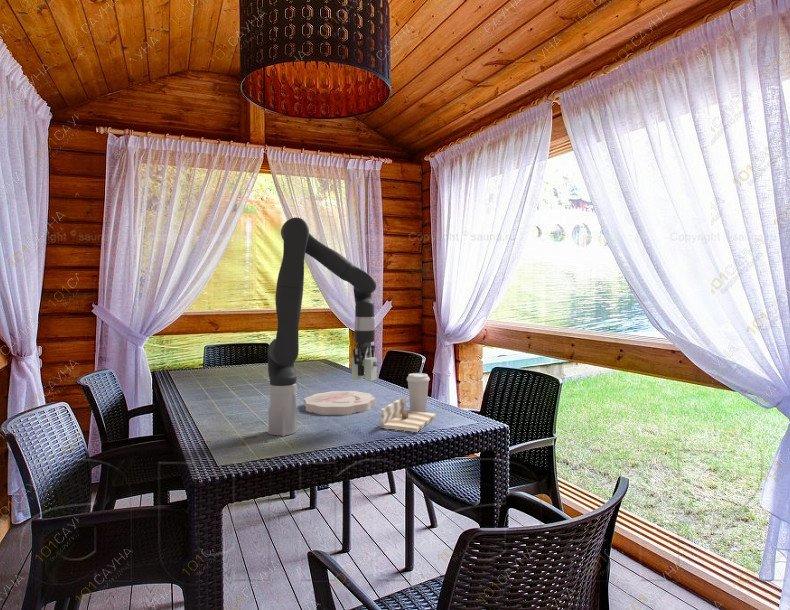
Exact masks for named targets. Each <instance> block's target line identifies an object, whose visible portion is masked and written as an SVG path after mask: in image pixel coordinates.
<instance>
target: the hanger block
mask: <svg viewBox="0 0 790 610" xmlns="http://www.w3.org/2000/svg"><path fill="white" fill-rule="evenodd" d="M362 379H364V382H372V381H375V380H377V379H378V358H377V357H375V356H374V357H366V359H365V360H364V375H363V376H358V365H357V364H355V363H354V357H352V358H351V380H352V381H358V380H362Z"/></svg>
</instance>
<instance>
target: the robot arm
mask: <svg viewBox="0 0 790 610" xmlns="http://www.w3.org/2000/svg"><path fill="white" fill-rule="evenodd" d="M280 236H281V238H282V240H283V249H282V250H283V251H282V259H281V264H280V268H279V271H278V274H277V281H276V288H275V289H276V290H275V302H274V303H275V310H276V318H277V329H276V336H275V338H274V339H273V340H272V341H270V343H269V345H268V348H267V373H268V377H269V407H268V408H267V409H268V435H272V436H273V435H274V436H280V437H284V436H289V435H293V434H296V433H297V432H298V420H297V419H298V418H297V417H298V416H297V415H298V414H297V413H298V412H297V411H298V410H297V409H298V407H297V405H298V402H297V401H298V399H297V398H298V397H297V395H298V393H297V392H298V391H297V390H298V389H297V388H298V387H297V383H298V382H297V381H298V380H297V374H296V371H295V362H296V361H297V358H298V356H299V352H300V351H299V350H300V348H299V336H300V335H299V328H300V319H301V311H302V304H303V303H302V302H303V294H304V286H305V285H304V283H305V281H304V280H305V256H306V254H307V256H309V257H312V259H314V260H315V261H317V262H318V263H320V264H321V265H322V266H323V267H324V268H326V269H327V270H328V271H330V272H331V273H333V274H334V275H335V276H337V277H338V278H339V279H341V280H343V281H344V282H348V283H349V284H350V285H351V286H353V295H354V302H355V306H354V307H355V311H354V323H353V324H354V325H353V326H354V329H353V330H354V331H353V332H354V334H353V335H354V337H353V339H354V342H356V343H357V347H356V348H353V349H352V350H353V351H352V352H353V358H354V363H355V364H357V365H358V376H363V375H364V376H365V373H364V360H365V359H366V357H374V358H375V351H376V346H375V345H373V344H372V343H374V342H375V339H376V338H375V333H376V331H375V330H376V325H375V324H376V323H375V322H376V321H375V305H374V302H373V300H372V293H374V291H375V290H376V289H377V281H376V279H375V277H373V276H372V275H371V274H369V273H368V272H366V271H364V270H363V269H361V268H360V267H357V266H356V265H355V264H354V263H352V262H351V261H350V260H349V259H347V258H346V257H345V256H344V255H342V254H340V253H339V252H337V251H335V250H334V249H333V248H330V247H329V246H326V245H325V244H324V243H322V242H320V241H319V240H318V239H317V238H315V237H314V236H313V235H312V234H311V233H310V227H309V225H308V223H307V222H306V221H305V219H303V218H301V217H297V216H296V217H292V218H291V217H290V218H289V219H287V220H286V221H285V222H284V223H283V225H282V226H281V229H280Z"/></svg>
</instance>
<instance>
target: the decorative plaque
mask: <svg viewBox="0 0 790 610" xmlns="http://www.w3.org/2000/svg"><path fill="white" fill-rule="evenodd" d="M303 401H304V405H303V406H305V407H306V408H305V407H304V408H305V411H306V412H307V411H308V412H307V413H312V412H313V413H314V414H317V415H322V416H331V415H332V416H334V415H335V416H347V415H346V414H349V415H353V414H352V413H354V414H357V413H356V412H360V413H365V412H364V411H366V412H368V411H370V410H371V409H372V408H371V407H373V408H375V407H376V397H374V396H373V395H372V394H371V393H368V392H361V391H357V390H333V391H326V392H319V393H318V392H317V393H314V394H312V395H310V396H307V397H304V399H303ZM374 406H375V407H374ZM367 410H368V411H367Z"/></svg>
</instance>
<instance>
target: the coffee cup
mask: <svg viewBox="0 0 790 610" xmlns="http://www.w3.org/2000/svg"><path fill="white" fill-rule="evenodd" d="M430 380H431V378H430V376H428V374H427V373H423V372H422V373H421V372H413V373H408V376H407V378H406V381H407V385H408V386H407V387H408V396H409V397H408V399H409V400H408V401H409V411H415V412H424V413H426V412H427V404H428V392H429V381H430ZM425 411H426V412H425Z"/></svg>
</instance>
